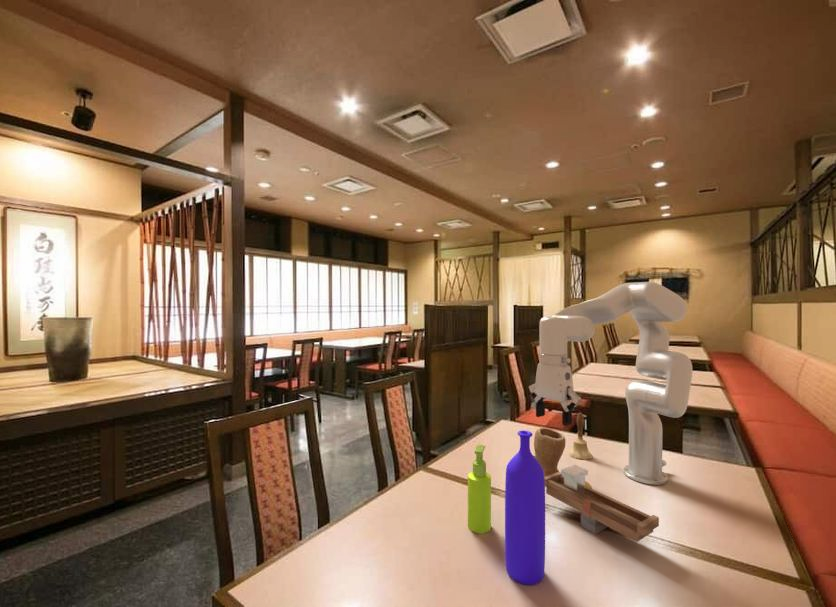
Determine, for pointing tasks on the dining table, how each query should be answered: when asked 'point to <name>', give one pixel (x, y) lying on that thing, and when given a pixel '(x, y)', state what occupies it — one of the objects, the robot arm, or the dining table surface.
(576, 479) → the rider
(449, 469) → the dining table surface
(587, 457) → the hand bell
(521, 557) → the bottle
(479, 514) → the soap dispenser
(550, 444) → the stone cup
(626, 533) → the beam
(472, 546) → the dining table surface
